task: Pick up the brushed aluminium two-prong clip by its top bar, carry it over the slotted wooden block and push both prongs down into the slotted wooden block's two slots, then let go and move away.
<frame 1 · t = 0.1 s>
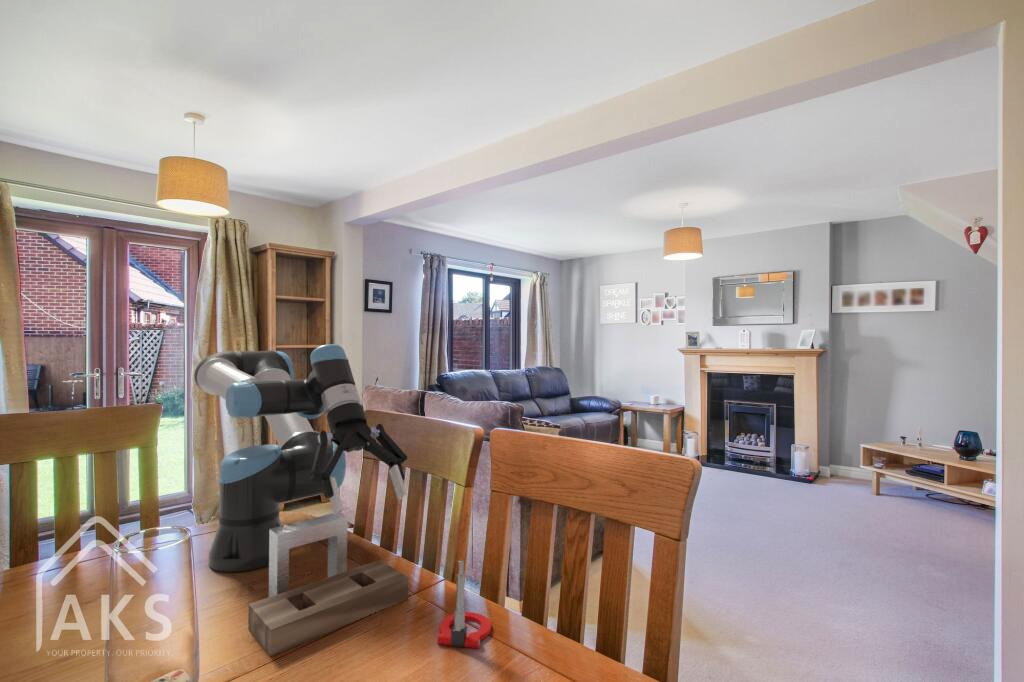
hand: (372, 504, 96), 15 cm above the table, tool tilted 35°, fingers open, 13 cm apart
tow hook: (464, 633, 81), on the table
slotted wooden block: (332, 613, 85), on the table
clip: (308, 592, 93), on the table
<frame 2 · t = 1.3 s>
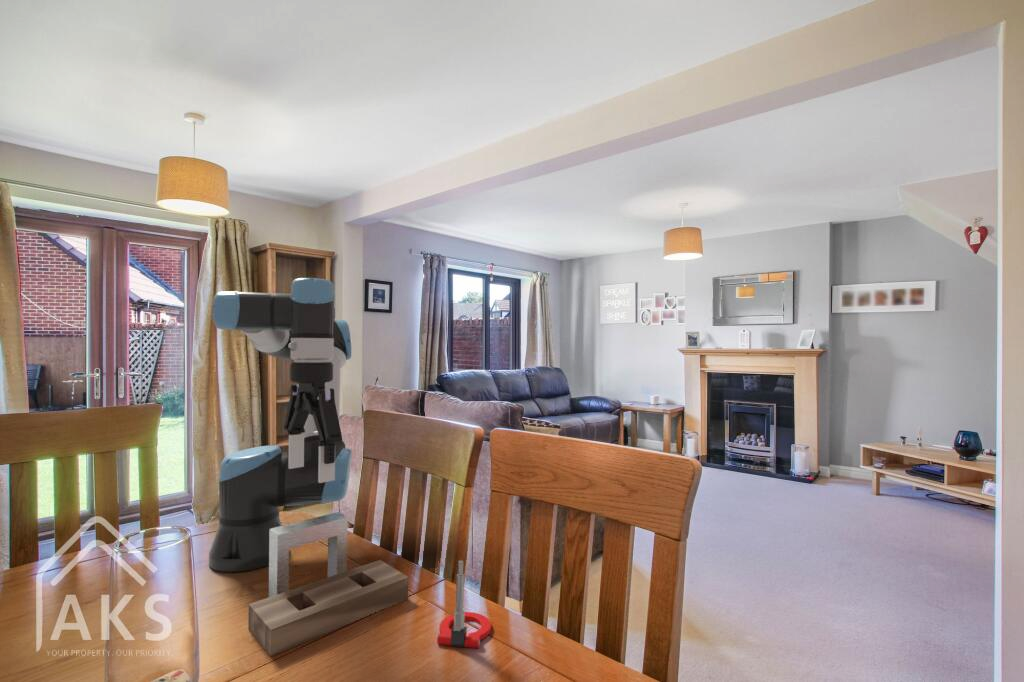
hand: (310, 474, 93), 22 cm above the table, tool pointing down, fingers open, 13 cm apart
nothing on the table moved.
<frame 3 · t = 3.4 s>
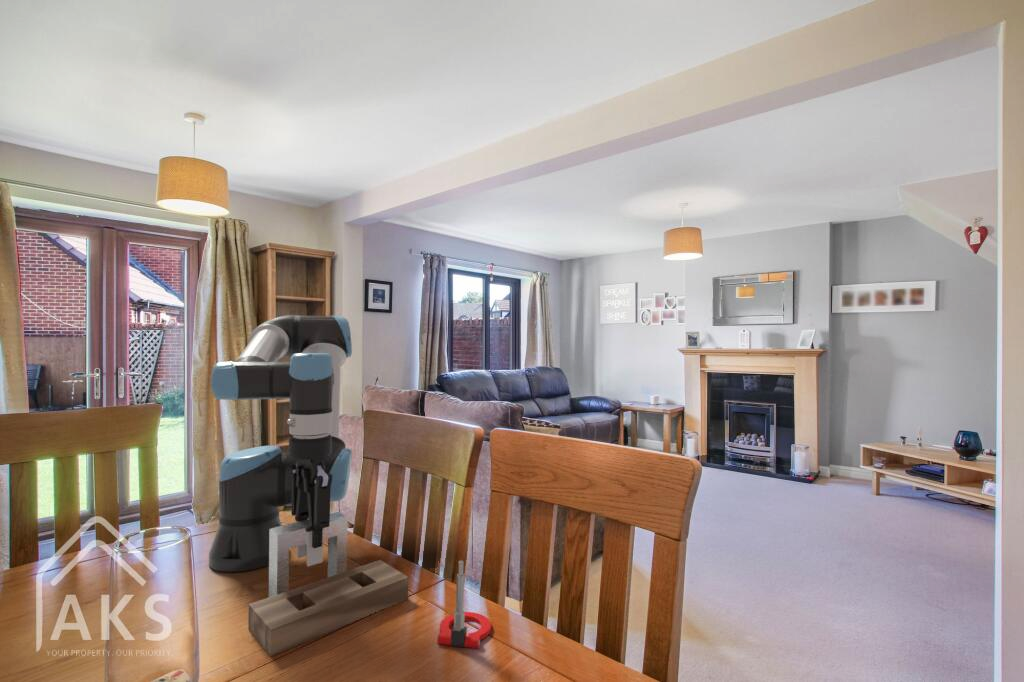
hand: (309, 559, 93), 6 cm above the table, tool pointing down, fingers closed on clip, 4 cm apart
clip: (308, 592, 93), on the table, touching gripper
everything else where it was.
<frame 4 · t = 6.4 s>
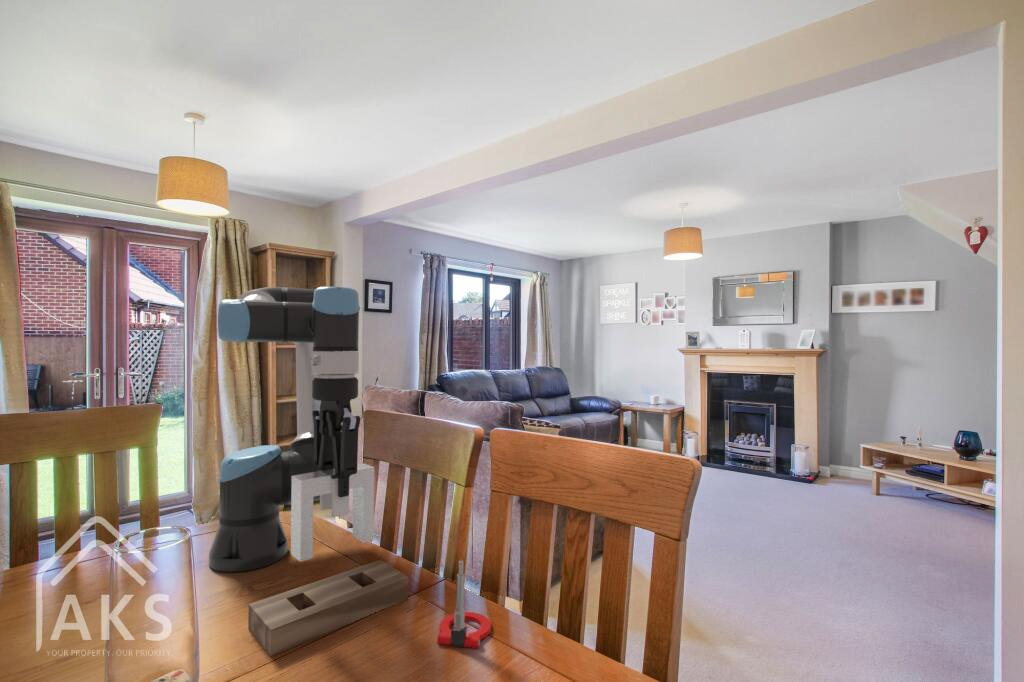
hand: (334, 511, 85), 18 cm above the table, tool pointing down, fingers closed on clip, 4 cm apart
clip: (333, 546, 85), point 12 cm above the table, touching gripper
everything else where it was.
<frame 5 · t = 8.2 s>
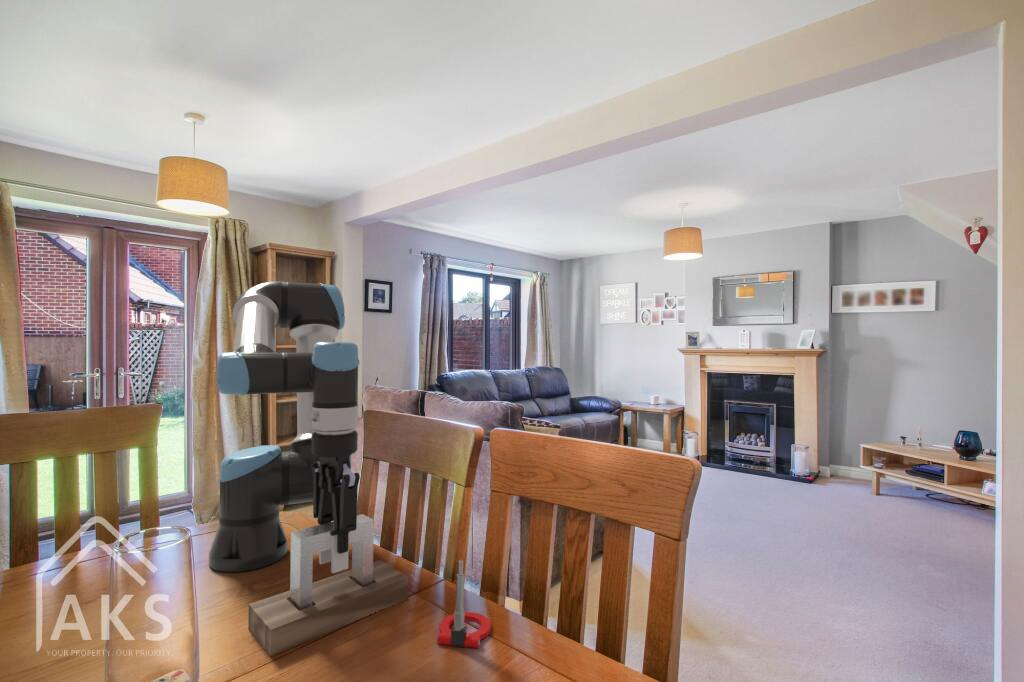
hand: (333, 565, 85), 8 cm above the table, tool pointing down, fingers closed on clip, 4 cm apart
clip: (332, 601, 85), point 2 cm above the table, touching gripper
everything else where it was.
when the fingers open (7 cm above the table, at t = 9.7 s): clip stays where it is, resting in slotted wooden block.
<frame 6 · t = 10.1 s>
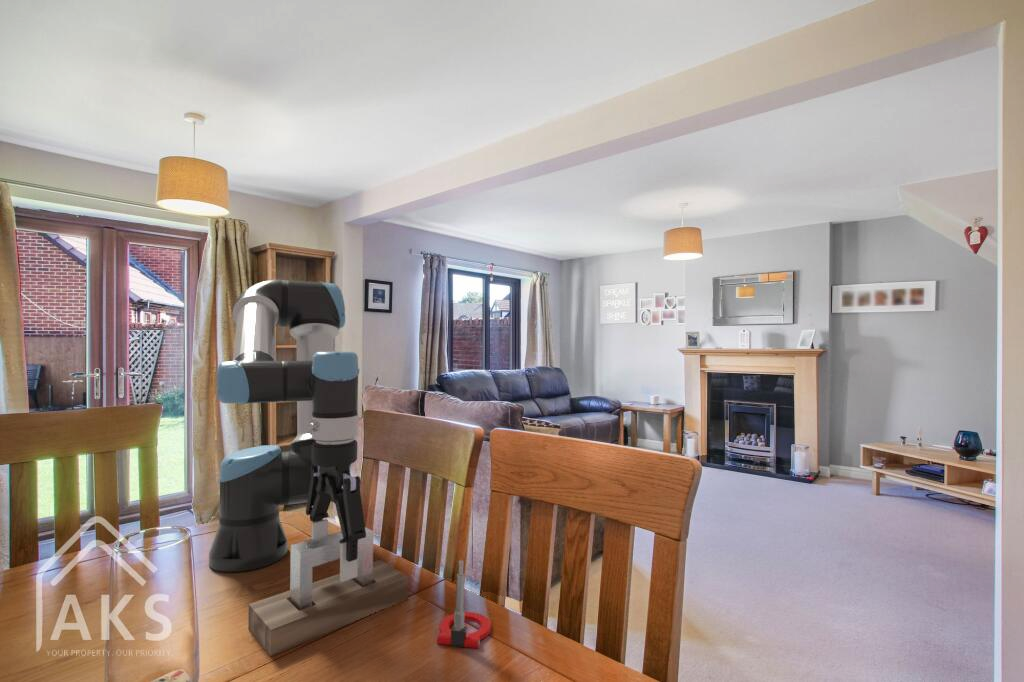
hand: (333, 567, 86), 8 cm above the table, tool pointing down, fingers open, 10 cm apart
clip: (332, 613, 85), resting in slotted wooden block
everything else where it was.
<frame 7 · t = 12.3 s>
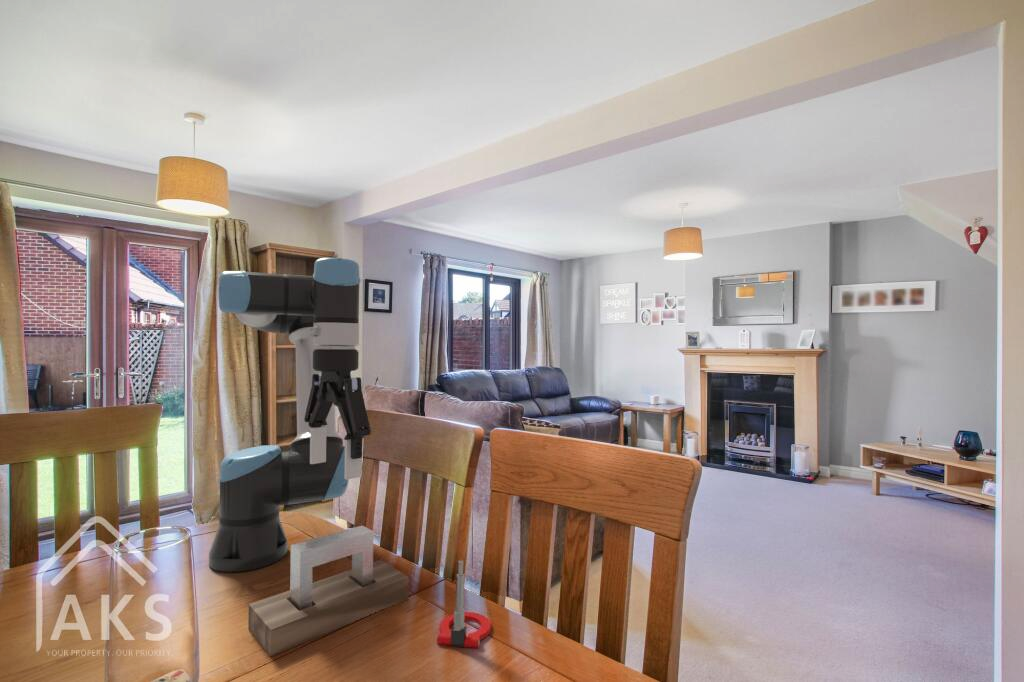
hand: (334, 470, 86), 25 cm above the table, tool pointing down, fingers open, 13 cm apart
nothing on the table moved.
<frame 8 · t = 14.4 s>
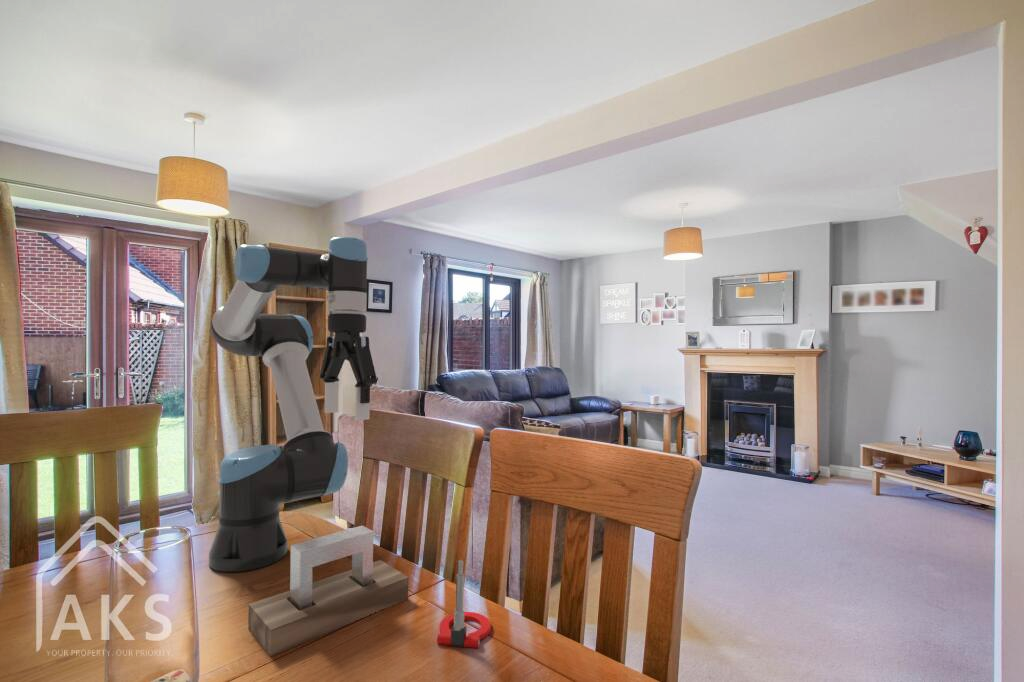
hand: (346, 416, 102), 32 cm above the table, tool pointing down, fingers open, 13 cm apart
nothing on the table moved.
at the end: clip 0.0 cm off-centre on the slotted wooden block, point 0.0 cm above the slotted wooden block's base; clip tilted 0°; the gripper is holding nothing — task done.
